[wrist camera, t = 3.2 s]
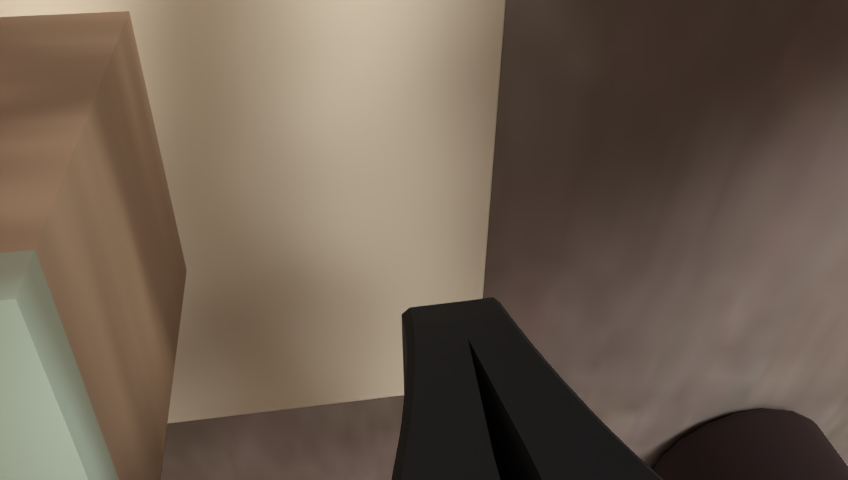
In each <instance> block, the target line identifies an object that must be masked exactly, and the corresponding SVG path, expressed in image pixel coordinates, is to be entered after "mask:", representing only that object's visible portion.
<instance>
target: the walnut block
mask: <svg viewBox="0 0 848 480" xmlns="http://www.w3.org/2000/svg"><path fill="white" fill-rule="evenodd" d="M186 272H187V270H186V265H185V261H184V256H183V252H182V247H181V243H180V238H179V234H178V229H177V225H176V220H175V216H174V211H173V207H172V202H171V198H170V193H169V189H168V184H167V180H166V175H165V171H164V166H163V161H162V157H161V152H160V148H159V143H158V139H157V134H156V130H155V125H154V121H153V116H152V112H151V107H150V103H149V98H148V94H147V89H146V85H145V80H144V76H143V71H142V67H141V62H140V58H139V53H138V49H137V44H136V40H135V35H134V31H133V26H132V21H131V17H130V12H129V11H123V12H101V13H79V14H57V15H36V16H14V17H0V480H160V477H161V469H162V461H163V454H164V446H165V438H166V430H167V422H168V414H169V406H170V398H171V390H172V383H173V375H174V367H175V359H176V351H177V343H178V335H179V327H180V320H181V312H182V304H183V296H184V288H185V280H186Z"/></svg>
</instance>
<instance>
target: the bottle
mask: <svg viewBox="0 0 848 480" xmlns="http://www.w3.org/2000/svg"><path fill="white" fill-rule="evenodd" d="M653 471H654V472H655V473H656V474H658V475H659V476H660V477H661V478H662V479H663V480H848V466H847V465H846V464H845V462H844V461H843V460H842V458H841V457H840V456H839V454H838V453H837V452H836V450H835V449H834V447H833V446H832V445H831V443H830V442H829V441H828V439H827V438H826V437H825V435H824V434H823V433H822V431H821V430H820V428H819V427H818V426H817V424H816V423H814V422H813V421H812V420H811V419H809V418H806V417H804V416H802V415H800V414H797V413H795V412H793V411H784V410H771V409H758V410H752V411H746V412H740V413H734V414H732V415H729V416H726V417H723V418H721V419H718V420H715V421H712V422H710V423H707V424H705V425H704V426H702V427H700V428H698V429H697V430H695V431H693V432H692V433H690V434H688V435H686V436H685V437H683V438H681V439H680V440H679V441H678V442H677V443H676V444H675V445H673V446H672V447H671V448H670V449H669V450H668V451H667V452H666V453H664V454H663V455H662V456H661V458H660V459H659V461H658V462H657V464H656V465H655V467H654V468H653Z"/></svg>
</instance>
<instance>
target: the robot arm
mask: <svg viewBox="0 0 848 480" xmlns="http://www.w3.org/2000/svg"><path fill="white" fill-rule="evenodd" d="M402 343H403V372H404V405H403V415H402V424H401V431H400V437H399V443H398V448H397V453H396V459H395V464H394V470H393V475H392V480H663V479H662V478H661V477H660V476H659V475H658V474H656V473H655V472H654V471H653V470H652V469H651V468H650V467H649V466H648V465H647V464H645V463H644V462H643V461H642V460H641V459H640V458H639V457H638V456H637V455H636V454H635V453H634V452H633V451H632V450H631V449H629V448H628V447H627V446H626V445H625V444H624V443H623V442H622V441H621V440H620V439H619V438H618V437H617V436H616V435H615V434H614V433H613V432H612V431H611V430H610V429H609V428H608V427H607V426H606V425H605V424H604V423H603V422H602V421H601V420H600V419H599V418H598V417H597V416H596V415H595V414H594V413H593V412H592V411H591V410H590V409H589V407H588V406H587V405H586V404H585V403H584V402H583V401H582V400H581V399H580V398H579V397H578V396H577V394H576V393H575V392H574V391H573V390H572V389H571V388H570V387H569V386H568V385H567V384H566V383H565V381H564V380H563V379H562V378H561V377H560V376H559V375H558V374H557V373H556V371H555V370H554V369H553V368H552V367H551V366H550V364H549V363H548V362H547V361H546V360H545V359H544V357H543V356H542V355H541V354H540V353H539V351H538V350H537V349H536V348H535V347H534V345H533V344H532V343H531V342H530V341H529V339H528V338H527V337H526V336H525V334H524V333H523V332H522V331H521V329H520V328H519V327H518V326H517V324H516V323H515V322H514V320H513V319H512V318H511V317H510V315H509V314H508V313H507V311H506V310H505V309H504V307H503V306H502V305H501V303H500V302H498V301H497V300H496V299H495V298H485V299H476V300H468V301H460V302H451V303H443V304H435V305H426V306H418V307H410V308H408V309H407V310H406V311H405V312H404V313H403V314H402Z"/></svg>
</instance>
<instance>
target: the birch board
mask: <svg viewBox="0 0 848 480" xmlns="http://www.w3.org/2000/svg"><path fill="white" fill-rule="evenodd" d="M123 11H129V12H130V17H131V21H132V26H133V31H134V35H135V40H136V44H137V49H138V53H139V58H140V62H141V67H142V71H143V76H144V80H145V85H146V89H147V94H148V98H149V103H150V107H151V112H152V116H153V121H154V125H155V130H156V134H157V139H158V143H159V148H160V152H161V157H162V161H163V166H164V171H165V175H166V180H167V184H168V189H169V193H170V198H171V202H172V207H173V211H174V216H175V220H176V225H177V229H178V234H179V238H180V243H181V247H182V252H183V256H184V261H185V265H186V270H187V272H186V280H185V288H184V296H183V304H182V312H181V320H180V327H179V335H178V343H177V351H176V359H175V367H174V375H173V383H172V390H171V398H170V406H169V414H168V422H167V424H168V423H176V422H185V421H193V420H201V419H209V418H218V417H226V416H234V415H243V414H251V413H259V412H268V411H276V410H284V409H293V408H301V407H309V406H318V405H326V404H334V403H343V402H351V401H359V400H368V399H376V398H384V397H393V396H401V395H404V372H403V343H402V314H403V313H404V312H405V311H406V310H407V309H408V308H410V307H418V306H426V305H435V304H443V303H451V302H460V301H468V300H476V299H483V288H484V275H485V261H486V248H487V235H488V222H489V209H490V196H491V183H492V170H493V157H494V143H495V130H496V117H497V104H498V91H499V78H500V65H501V52H502V39H503V26H504V12H505V0H0V17H14V16H36V15H57V14H79V13H101V12H123Z"/></svg>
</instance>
